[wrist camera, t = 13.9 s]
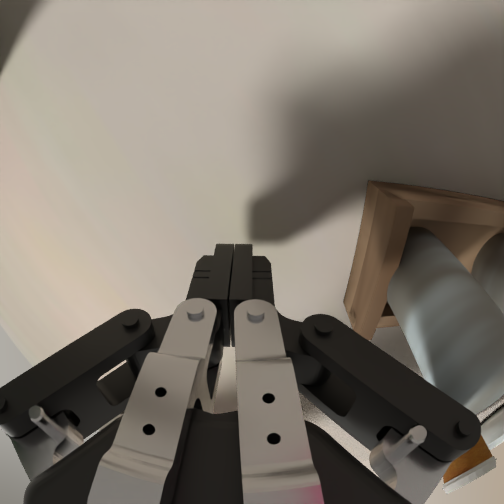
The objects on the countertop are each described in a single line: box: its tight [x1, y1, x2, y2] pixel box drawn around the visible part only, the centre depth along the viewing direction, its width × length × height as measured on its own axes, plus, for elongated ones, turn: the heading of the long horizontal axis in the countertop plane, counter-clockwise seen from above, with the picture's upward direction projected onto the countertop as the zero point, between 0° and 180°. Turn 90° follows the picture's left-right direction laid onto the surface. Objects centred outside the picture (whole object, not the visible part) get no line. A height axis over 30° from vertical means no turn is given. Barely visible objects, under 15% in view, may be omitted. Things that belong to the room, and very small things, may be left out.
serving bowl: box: [481, 406, 504, 450], centre depth 31 cm, size 21×21×7 cm
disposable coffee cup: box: [442, 435, 496, 494], centre depth 25 cm, size 10×10×12 cm
